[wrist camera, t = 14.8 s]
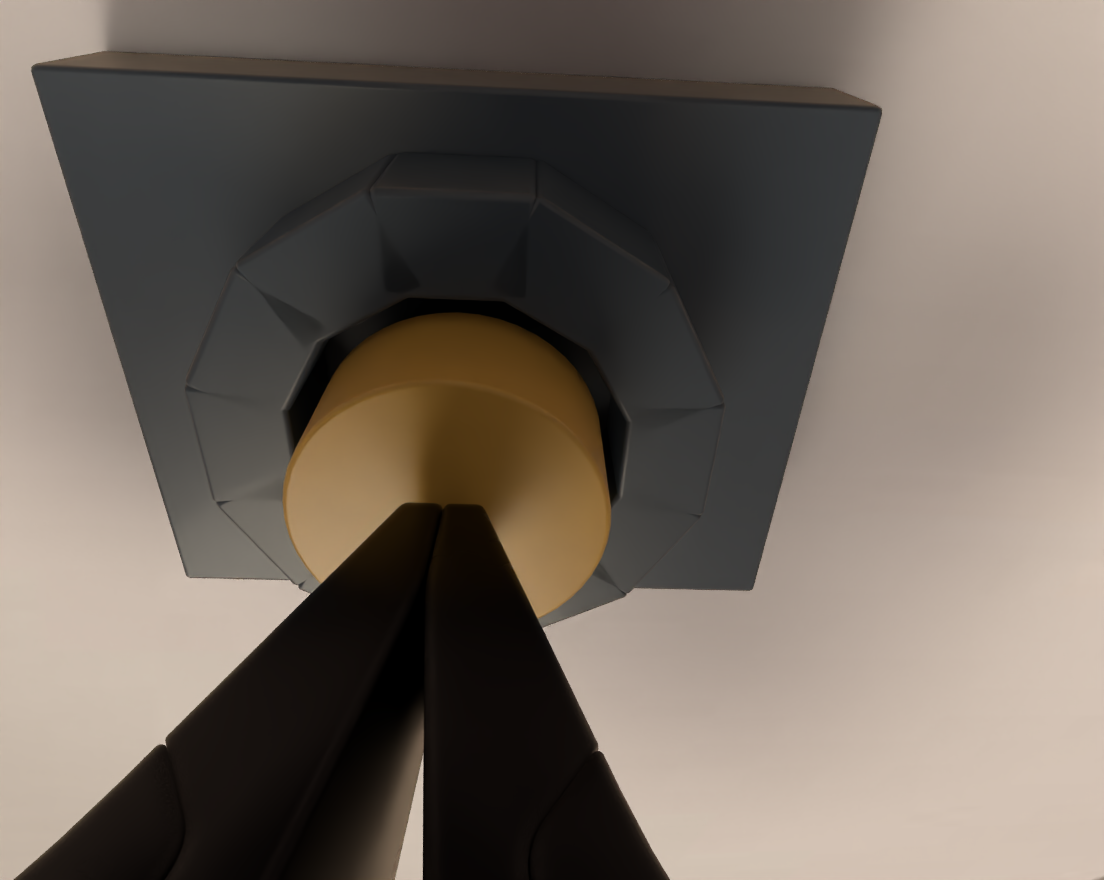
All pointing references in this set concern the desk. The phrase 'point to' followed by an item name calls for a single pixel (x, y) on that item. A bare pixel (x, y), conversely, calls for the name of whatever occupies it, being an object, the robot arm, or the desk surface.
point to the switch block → (463, 272)
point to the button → (456, 449)
